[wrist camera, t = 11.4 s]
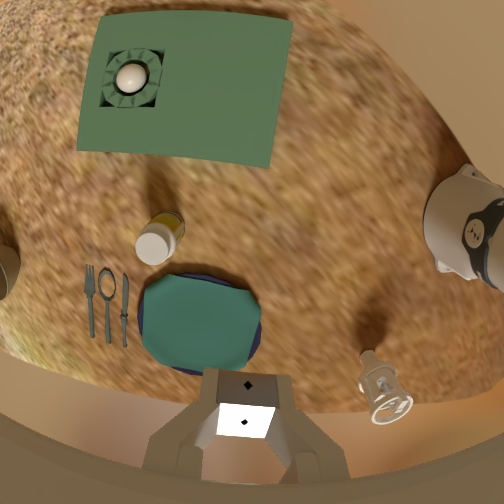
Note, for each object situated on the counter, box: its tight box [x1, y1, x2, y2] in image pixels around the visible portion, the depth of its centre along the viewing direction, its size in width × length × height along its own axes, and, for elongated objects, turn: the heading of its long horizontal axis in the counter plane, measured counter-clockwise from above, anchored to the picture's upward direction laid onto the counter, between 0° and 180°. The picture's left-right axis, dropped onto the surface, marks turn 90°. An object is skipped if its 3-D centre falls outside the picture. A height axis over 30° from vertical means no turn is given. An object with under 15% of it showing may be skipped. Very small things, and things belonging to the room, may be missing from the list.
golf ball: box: [116, 64, 147, 93], centre depth 30 cm, size 4×4×4 cm
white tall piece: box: [358, 350, 413, 425], centre depth 42 cm, size 7×7×15 cm
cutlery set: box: [84, 265, 262, 376], centre depth 45 cm, size 20×30×2 cm, turn 77°
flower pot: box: [0, 245, 20, 301], centre depth 38 cm, size 10×10×7 cm
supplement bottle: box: [135, 211, 185, 265], centre depth 36 cm, size 5×5×8 cm
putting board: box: [76, 10, 293, 169], centre depth 31 cm, size 26×20×2 cm
